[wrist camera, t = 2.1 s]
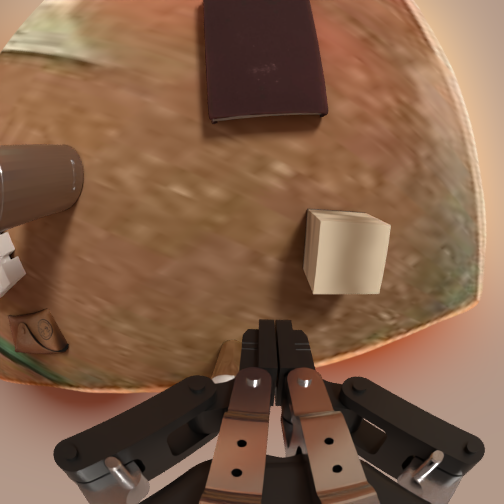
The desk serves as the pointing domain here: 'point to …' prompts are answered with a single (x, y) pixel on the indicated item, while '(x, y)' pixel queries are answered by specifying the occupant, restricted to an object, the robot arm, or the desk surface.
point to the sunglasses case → (37, 333)
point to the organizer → (8, 265)
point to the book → (262, 59)
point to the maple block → (344, 252)
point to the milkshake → (227, 362)
